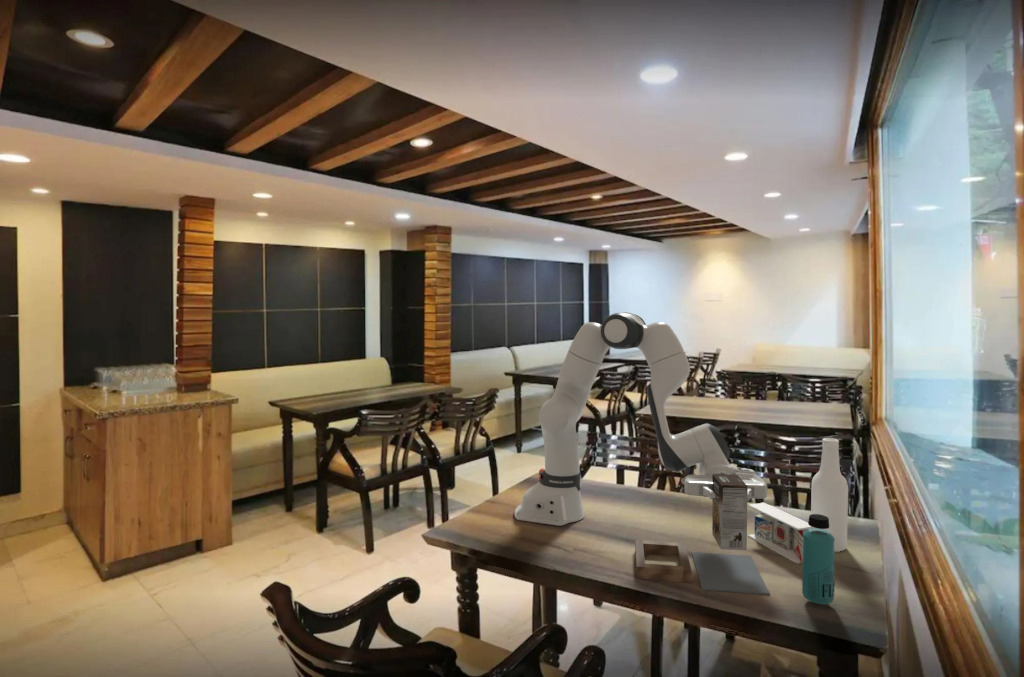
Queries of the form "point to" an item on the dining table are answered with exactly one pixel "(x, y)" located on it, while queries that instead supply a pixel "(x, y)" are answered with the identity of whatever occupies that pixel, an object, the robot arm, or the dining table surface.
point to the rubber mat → (729, 573)
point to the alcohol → (831, 493)
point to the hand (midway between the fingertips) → (729, 496)
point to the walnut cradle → (662, 571)
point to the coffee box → (729, 512)
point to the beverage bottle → (818, 561)
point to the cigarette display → (779, 531)
